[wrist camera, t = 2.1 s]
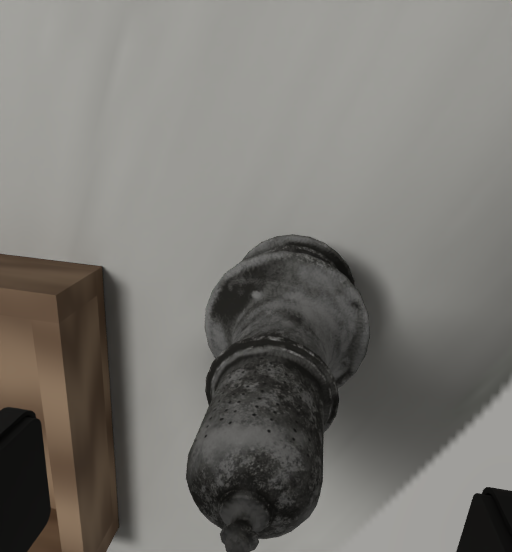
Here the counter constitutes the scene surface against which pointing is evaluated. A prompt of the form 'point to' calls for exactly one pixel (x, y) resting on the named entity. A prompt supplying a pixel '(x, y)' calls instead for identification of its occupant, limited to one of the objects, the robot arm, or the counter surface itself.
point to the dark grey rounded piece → (273, 386)
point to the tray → (62, 392)
